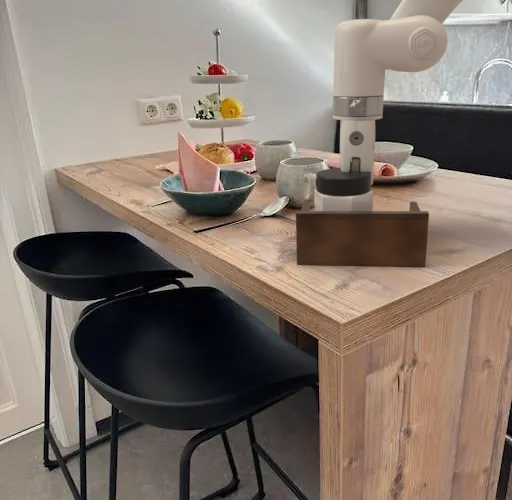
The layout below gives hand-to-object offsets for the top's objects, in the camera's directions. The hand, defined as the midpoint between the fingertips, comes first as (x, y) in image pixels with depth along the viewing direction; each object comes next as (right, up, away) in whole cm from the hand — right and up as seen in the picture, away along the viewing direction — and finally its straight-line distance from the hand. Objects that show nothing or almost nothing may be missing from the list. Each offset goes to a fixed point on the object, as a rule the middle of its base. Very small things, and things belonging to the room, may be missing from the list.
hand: (352, 223), depth 83 cm
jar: (-2, -4, -4) cm, 6 cm away
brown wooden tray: (0, -4, -5) cm, 7 cm away
